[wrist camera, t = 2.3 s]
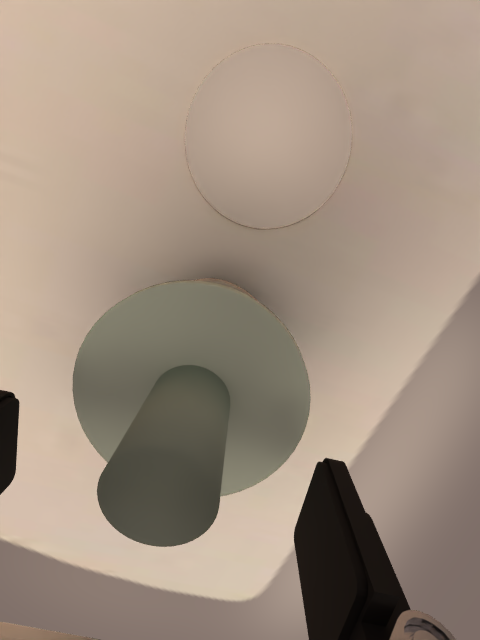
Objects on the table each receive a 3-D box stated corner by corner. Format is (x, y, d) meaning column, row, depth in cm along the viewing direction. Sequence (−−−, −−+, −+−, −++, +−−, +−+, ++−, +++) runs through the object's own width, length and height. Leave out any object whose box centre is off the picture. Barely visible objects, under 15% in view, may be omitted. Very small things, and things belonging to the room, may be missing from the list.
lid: (227, 231, 12) (207, 237, 7) (347, 425, 15) (407, 549, 9) (35, 358, 14) (-105, 445, 9) (168, 515, 16) (125, 668, 11)
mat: (298, 6, 19) (299, 1, 18) (378, 171, 21) (381, 170, 20) (153, 116, 20) (151, 114, 20) (241, 258, 23) (241, 258, 22)
